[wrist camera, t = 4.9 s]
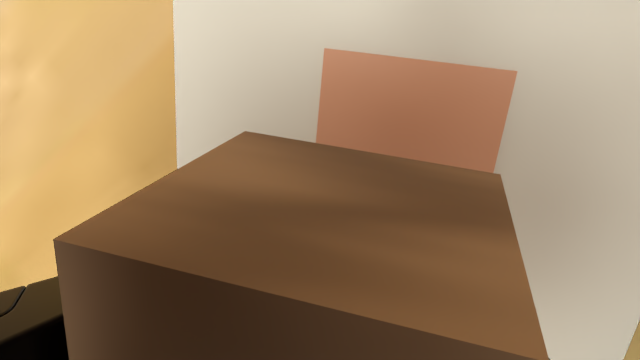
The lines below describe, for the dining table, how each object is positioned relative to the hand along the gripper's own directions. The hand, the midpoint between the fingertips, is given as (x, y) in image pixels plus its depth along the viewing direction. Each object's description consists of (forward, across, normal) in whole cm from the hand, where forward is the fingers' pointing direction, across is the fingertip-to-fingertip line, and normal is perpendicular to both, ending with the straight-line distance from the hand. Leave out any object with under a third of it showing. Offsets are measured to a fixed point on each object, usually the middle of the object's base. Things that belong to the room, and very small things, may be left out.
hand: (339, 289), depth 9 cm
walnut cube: (+1, 0, 0) cm, 1 cm away
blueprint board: (+11, 0, 0) cm, 11 cm away
